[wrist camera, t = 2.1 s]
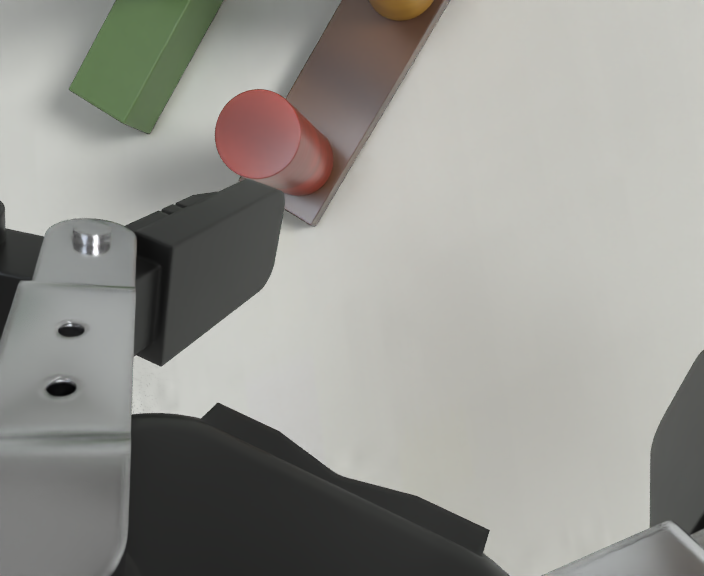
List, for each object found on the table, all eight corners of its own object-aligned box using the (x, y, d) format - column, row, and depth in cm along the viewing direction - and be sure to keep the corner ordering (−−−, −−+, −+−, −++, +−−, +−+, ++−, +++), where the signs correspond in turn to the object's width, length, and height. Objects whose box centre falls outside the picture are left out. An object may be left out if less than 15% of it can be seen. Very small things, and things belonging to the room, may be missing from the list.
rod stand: (392, -72, 34) (371, -179, 26) (468, -30, 34) (471, -126, 25) (245, 183, 36) (181, 159, 28) (315, 226, 36) (272, 216, 27)
